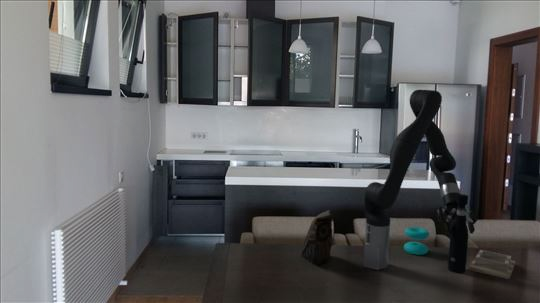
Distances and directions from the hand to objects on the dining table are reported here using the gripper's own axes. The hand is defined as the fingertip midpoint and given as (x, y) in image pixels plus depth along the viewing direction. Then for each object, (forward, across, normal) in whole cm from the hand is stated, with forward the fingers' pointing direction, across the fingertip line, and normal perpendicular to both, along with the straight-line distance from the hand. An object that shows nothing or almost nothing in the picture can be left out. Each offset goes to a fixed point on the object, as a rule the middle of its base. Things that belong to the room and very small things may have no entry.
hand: (461, 232), depth 164 cm
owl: (+5, -54, +18) cm, 57 cm away
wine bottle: (+10, 0, +12) cm, 16 cm away
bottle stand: (+8, +16, +14) cm, 23 cm away
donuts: (-3, -10, +26) cm, 28 cm away
